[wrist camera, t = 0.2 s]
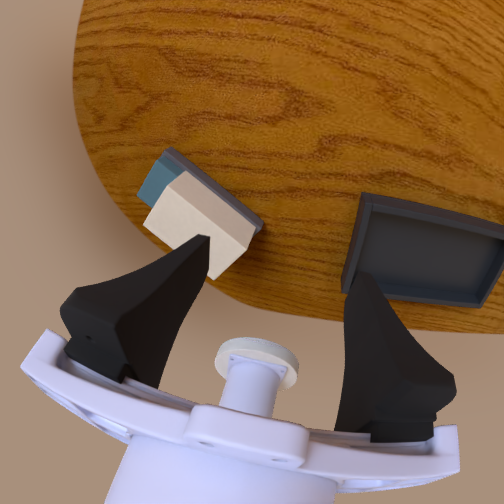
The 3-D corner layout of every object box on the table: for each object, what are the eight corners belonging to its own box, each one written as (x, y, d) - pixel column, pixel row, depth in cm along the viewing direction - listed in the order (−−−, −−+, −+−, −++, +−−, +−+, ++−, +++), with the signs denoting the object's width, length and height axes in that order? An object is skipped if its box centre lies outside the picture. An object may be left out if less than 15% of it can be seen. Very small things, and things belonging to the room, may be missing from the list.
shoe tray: (340, 278, 25) (341, 293, 23) (361, 191, 20) (365, 202, 18) (474, 295, 22) (480, 308, 21) (509, 226, 17) (518, 238, 16)
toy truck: (264, 221, 23) (253, 251, 20) (230, 253, 26) (216, 284, 22) (171, 146, 21) (142, 162, 17) (146, 186, 24) (119, 208, 20)
